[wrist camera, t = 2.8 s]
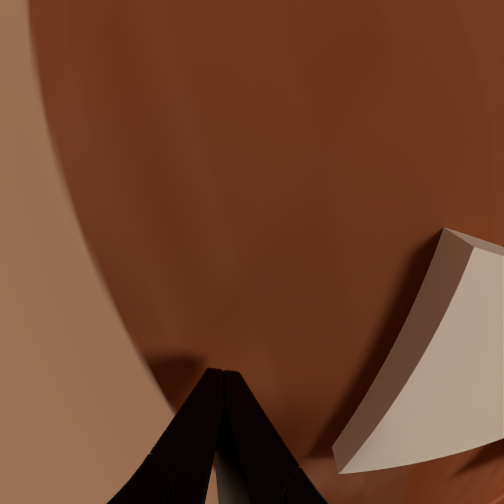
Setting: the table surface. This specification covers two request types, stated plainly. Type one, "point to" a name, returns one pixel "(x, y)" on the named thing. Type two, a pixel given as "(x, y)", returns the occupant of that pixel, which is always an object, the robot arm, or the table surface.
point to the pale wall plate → (437, 367)
